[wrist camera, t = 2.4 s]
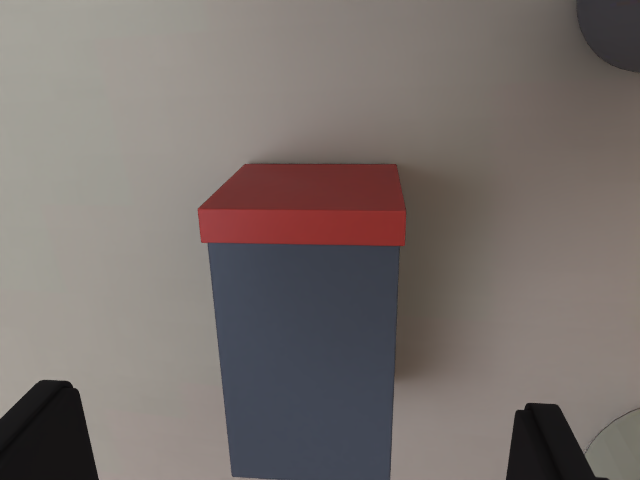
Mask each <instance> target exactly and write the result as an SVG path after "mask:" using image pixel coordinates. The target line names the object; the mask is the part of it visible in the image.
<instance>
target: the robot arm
mask: <svg viewBox="0 0 640 480" xmlns="http://www.w3.org/2000/svg"><path fill="white" fill-rule="evenodd" d="M0 480H99V479H98V474H97V470H96V465H95V461H94V456H93V452H92V447H91V443H90V438H89V434H88V429H87V425H86V420H85V416H84V411H83V407H82V402H81V398H80V394H79V391H78V390H77V389H76V388H73V386H72V384H71V383H70V382H68V381H57V380H41V381H39V382H38V383H36V384H35V385H34V386H33V387H32V388H31V389H30V390H29V391H28V392H27V393H26V394H25V395H24V396H23V397H22V398H21V399H20V400H19V401H18V402H17V403H16V404H15V405H14V406H13V407H12V408H11V409H10V410H9V411H8V412H7V413H6V414H5V415H4V416H3V417H2V418H1V419H0ZM506 480H609V479H608V478H604V477H595V475H594V473H593V471H592V469H591V467H590V465H589V463H588V461H587V459H586V458H585V456H584V454H583V452H582V450H581V448H580V446H579V444H578V442H577V440H576V438H575V436H574V434H573V432H572V430H571V428H570V426H569V424H568V423H567V421H566V419H565V417H564V415H563V413H562V411H561V409H560V408H559V406H558V405H556V404H540V403H527V404H526V406H525V409H524V410H517V411H516V413H515V418H514V426H513V433H512V440H511V447H510V454H509V462H508V469H507V476H506Z"/></svg>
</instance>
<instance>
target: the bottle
mask: <svg viewBox="0 0 640 480" xmlns="http://www.w3.org/2000/svg"><path fill="white" fill-rule="evenodd" d="M577 17H578V21H579V25H580V28H581V31H582V33H583V36H584V38H585V40H586V41H587V43H588V45H589V46H590V47H591V48H592V50H593V51H594V52H595V53H596V54H597V55H598V56H599V57H600V58H602V59H603V60H604V61H606V62H608V63H609V64H611V65H613V66H616V67H618V68H621V69H624V70H629V71H633V72H640V0H577Z"/></svg>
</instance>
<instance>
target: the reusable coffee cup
mask: <svg viewBox="0 0 640 480" xmlns="http://www.w3.org/2000/svg"><path fill="white" fill-rule="evenodd" d="M585 458H586V459H587V461H588V463H589V465H590V467H591V469H592V471H593V473H594V475H595V477H604V478H608V479H609V480H640V409H637V410H635V411H632V412H629V413H628V414H626V415H624V416H622V417H621V418H619V419H617V420H615V421H614V422H612V423H611V424H610V425H609V426H608V427H606V428H605V429H604V430H603V431H602V432H600V434H599V435H598V436H597V437H596V438H595V440H594V441H593V442H592V443H591V444H590V446H589V448H588V450H587V452H586V454H585Z"/></svg>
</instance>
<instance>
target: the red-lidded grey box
mask: <svg viewBox="0 0 640 480" xmlns="http://www.w3.org/2000/svg"><path fill="white" fill-rule="evenodd" d="M198 217H199V226H200V235H201V242H202V243H208V251H209V261H210V271H211V280H212V290H213V299H214V309H215V319H216V328H217V338H218V347H219V357H220V367H221V376H222V386H223V395H224V405H225V415H226V424H227V434H228V443H229V453H230V462H231V472H232V476H233V477H244V478H260V479H277V480H390V472H391V447H392V422H393V398H394V373H395V349H396V324H397V299H398V275H399V250H400V246H404V245H405V230H406V208H405V203H404V199H403V194H402V189H401V184H400V180H399V175H398V170H397V165H396V164H244V165H243V166H242V167H241V168H240V169H239V170H238V171H237V172H236V173H235V174H234V175H233V176H232V177H231V178H230V179H229V180H228V181H227V182H225V183H224V184H223V185H222V186H221V187H220V188H219V189H218V190H217V191H216V192H215V193H214V194H213V195H212V196H211V197H210V198H209V199H208V200H207V201H205V202H204V203H203V204H202V205H201V206H200V207H199V208H198Z"/></svg>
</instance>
